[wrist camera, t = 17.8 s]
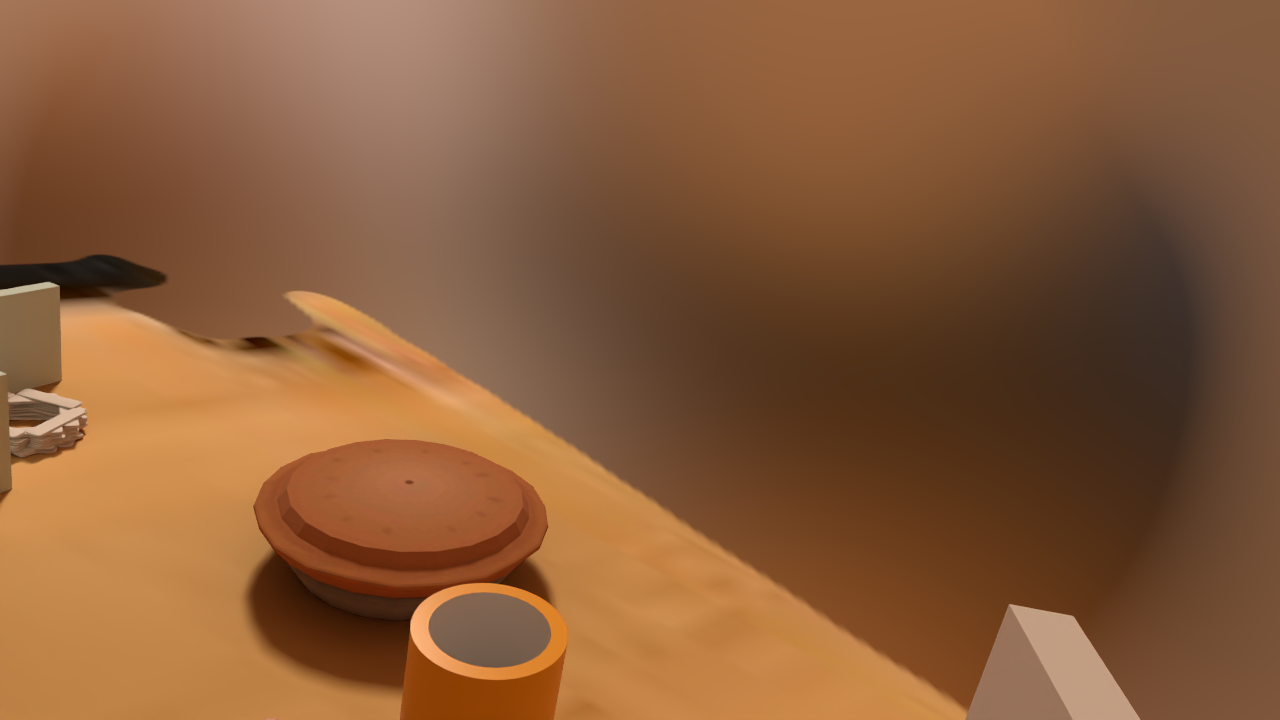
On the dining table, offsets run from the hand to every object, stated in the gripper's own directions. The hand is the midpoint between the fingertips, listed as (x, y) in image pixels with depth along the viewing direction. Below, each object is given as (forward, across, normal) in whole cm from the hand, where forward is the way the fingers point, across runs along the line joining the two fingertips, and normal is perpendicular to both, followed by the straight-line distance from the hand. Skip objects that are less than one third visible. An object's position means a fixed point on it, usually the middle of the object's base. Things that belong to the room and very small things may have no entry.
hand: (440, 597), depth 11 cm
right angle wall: (+43, -34, -25) cm, 61 cm away
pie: (+36, -8, -24) cm, 44 cm away
